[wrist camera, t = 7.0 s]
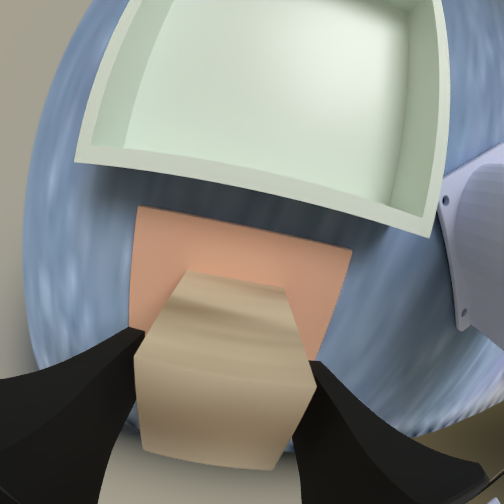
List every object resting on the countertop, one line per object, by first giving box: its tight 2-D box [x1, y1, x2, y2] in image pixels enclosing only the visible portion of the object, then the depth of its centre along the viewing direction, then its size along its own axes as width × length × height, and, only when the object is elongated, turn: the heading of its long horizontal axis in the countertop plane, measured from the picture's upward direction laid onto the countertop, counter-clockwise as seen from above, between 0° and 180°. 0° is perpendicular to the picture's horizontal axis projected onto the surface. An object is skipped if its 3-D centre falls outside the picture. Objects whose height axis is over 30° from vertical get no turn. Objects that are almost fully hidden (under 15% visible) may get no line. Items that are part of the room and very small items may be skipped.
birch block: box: [134, 270, 317, 470], centre depth 9 cm, size 4×4×6 cm
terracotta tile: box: [129, 205, 353, 361], centre depth 12 cm, size 9×9×1 cm
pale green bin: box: [74, 0, 450, 238], centre depth 8 cm, size 13×13×3 cm
